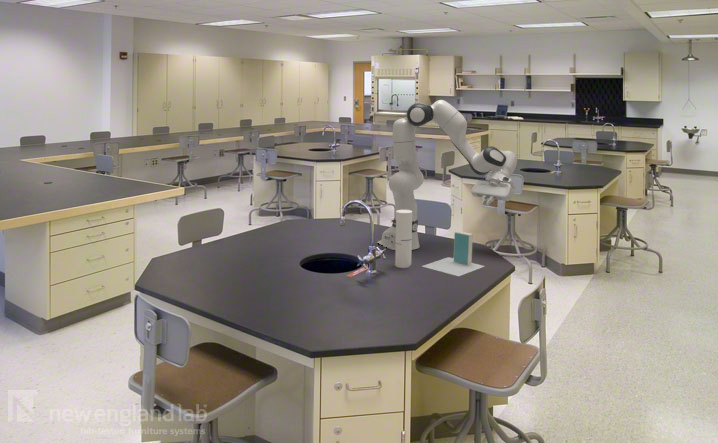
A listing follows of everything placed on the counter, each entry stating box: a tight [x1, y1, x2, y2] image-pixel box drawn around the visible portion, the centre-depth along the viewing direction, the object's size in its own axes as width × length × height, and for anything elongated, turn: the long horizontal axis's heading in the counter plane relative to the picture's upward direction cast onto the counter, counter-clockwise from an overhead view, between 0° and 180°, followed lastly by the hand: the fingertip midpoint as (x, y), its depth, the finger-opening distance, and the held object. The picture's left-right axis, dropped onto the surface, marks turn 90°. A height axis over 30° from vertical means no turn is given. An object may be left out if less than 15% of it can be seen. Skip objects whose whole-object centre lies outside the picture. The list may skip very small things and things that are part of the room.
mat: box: [421, 256, 486, 277], centre depth 250 cm, size 20×20×1 cm
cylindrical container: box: [394, 210, 412, 269], centre depth 251 cm, size 7×7×25 cm
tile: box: [453, 230, 474, 265], centre depth 253 cm, size 8×3×14 cm, turn 45°
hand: (484, 204), depth 261 cm, fingers closed
